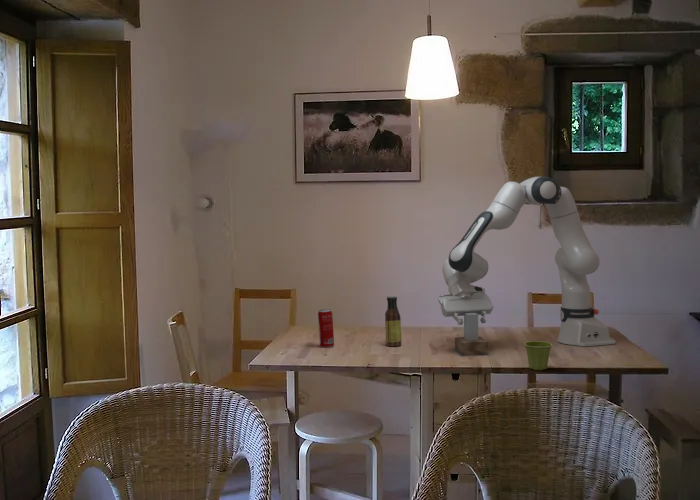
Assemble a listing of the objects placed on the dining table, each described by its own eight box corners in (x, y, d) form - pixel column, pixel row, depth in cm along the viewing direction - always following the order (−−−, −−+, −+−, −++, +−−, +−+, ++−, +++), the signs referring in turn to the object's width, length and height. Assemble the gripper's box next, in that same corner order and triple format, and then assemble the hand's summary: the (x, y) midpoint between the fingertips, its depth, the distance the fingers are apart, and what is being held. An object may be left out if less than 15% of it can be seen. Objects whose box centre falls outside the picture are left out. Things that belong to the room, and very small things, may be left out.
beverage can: (336, 345, 298) (335, 309, 297) (329, 348, 292) (328, 311, 291) (323, 344, 301) (322, 308, 299) (316, 347, 295) (315, 310, 293)
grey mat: (482, 349, 287) (482, 348, 287) (490, 356, 275) (490, 355, 275) (451, 350, 286) (451, 349, 286) (459, 357, 274) (459, 356, 274)
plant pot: (552, 372, 251) (553, 347, 250) (524, 371, 253) (524, 346, 252) (551, 365, 260) (551, 341, 259) (523, 364, 262) (523, 340, 261)
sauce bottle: (404, 345, 297) (404, 296, 295) (394, 347, 292) (394, 298, 291) (392, 343, 301) (391, 295, 300) (382, 345, 297) (381, 296, 295)
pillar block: (473, 338, 283) (473, 312, 282) (478, 340, 279) (478, 314, 278) (464, 338, 282) (464, 313, 281) (468, 340, 278) (468, 314, 277)
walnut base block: (480, 349, 286) (480, 336, 286) (487, 354, 276) (487, 341, 276) (455, 350, 285) (455, 337, 285) (461, 355, 275) (461, 342, 275)
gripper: (439, 290, 282) (449, 319, 273) (487, 287, 287) (499, 316, 279) (434, 300, 286) (444, 329, 278) (482, 297, 292) (494, 326, 283)
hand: (472, 323), depth 278 cm, fingers open, 8 cm apart
